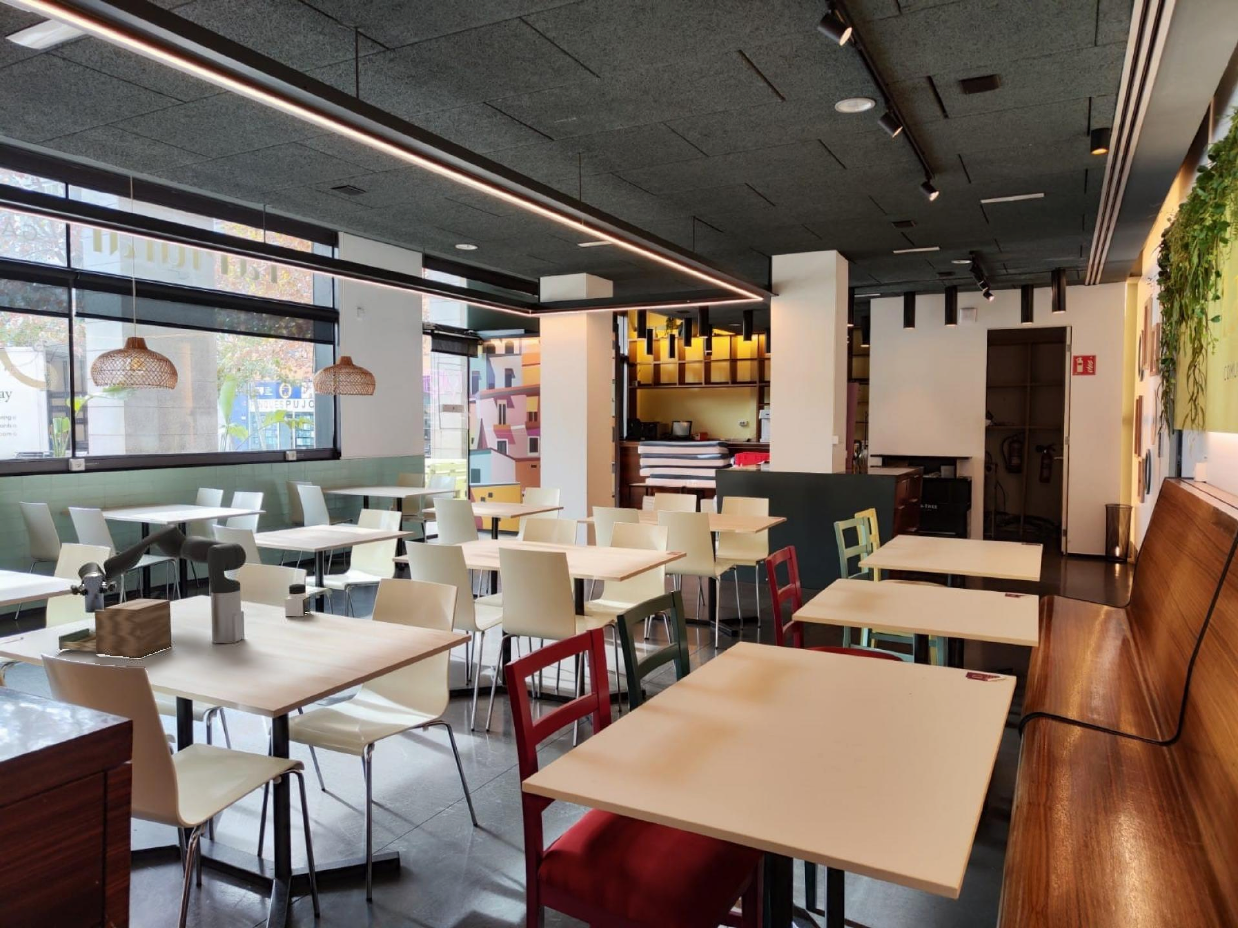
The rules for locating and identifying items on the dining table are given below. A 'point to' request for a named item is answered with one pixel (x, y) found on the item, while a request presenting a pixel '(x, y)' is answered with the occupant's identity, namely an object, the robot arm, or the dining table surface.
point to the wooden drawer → (78, 641)
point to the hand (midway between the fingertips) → (93, 591)
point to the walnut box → (133, 628)
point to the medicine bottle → (297, 601)
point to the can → (93, 593)
